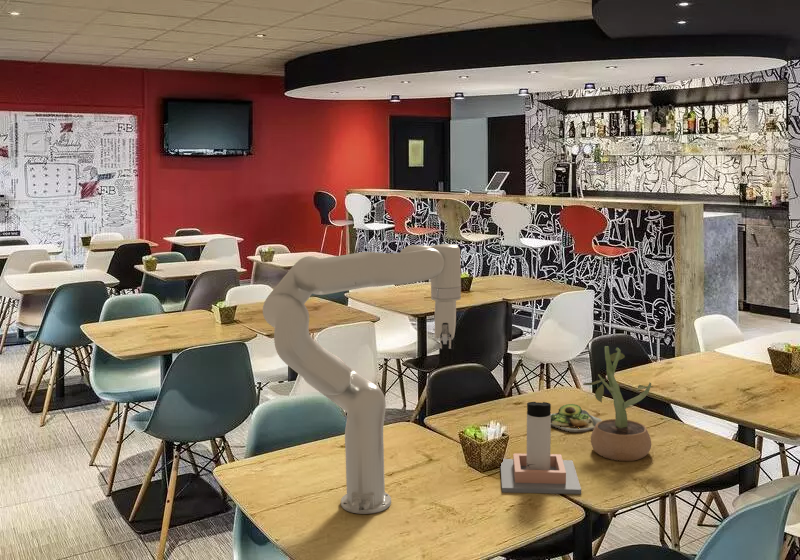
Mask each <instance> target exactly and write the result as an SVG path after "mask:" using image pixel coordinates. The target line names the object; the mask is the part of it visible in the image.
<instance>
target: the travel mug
mask: <svg viewBox="0 0 800 560" xmlns="http://www.w3.org/2000/svg"><path fill="white" fill-rule="evenodd" d="M551 406H552V404H551V403H549V402H545V401H542V402H538V401H537V402H536V401H530V402H529V401H528V402H527V403H526V410H527V411H526V454H527V469H526V470H550V454H551V445H552V444H551V435H552V434H551V432H552V430H551V429H552V426H551V414H552V412H551V411H552V409H551Z"/></svg>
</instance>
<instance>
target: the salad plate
mask: <svg viewBox="0 0 800 560" xmlns="http://www.w3.org/2000/svg"><path fill="white" fill-rule="evenodd" d="M600 421H603V420H602V419H601V418H598V417H597V416H596V417H595V416H593V415H591V414H590V413H589V412H588V411H587V410H583V409H582V407H581V406H580V405H578V404H575V403H568V404H565V405H562V406H560V407H559V409H558V412H555V413H551V428H554V427H555V429H557V428H558V430H560V429H561V430H562V431H564V430H565V432H568V431H569V432H568V433H584V432H588V431H593V430H594V428H595V425H596V424H597V423H598V422H600ZM560 426H561V427H560ZM572 426H575V427H579V428H580V429H578V428H575V427H574V428H572ZM570 427H571V428H570Z"/></svg>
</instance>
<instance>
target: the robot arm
mask: <svg viewBox="0 0 800 560" xmlns="http://www.w3.org/2000/svg"><path fill="white" fill-rule="evenodd" d="M461 266H462V265H461V249H460V247H459V246H458V245H457V244H452V243H451V244H450V243H449V244H448V243H441V244H435V245H419V244H411V245H407V246H405V247H404V248H402V249H401V250H400V252H397V253H394V252H393V253H389V252H388V253H386V252H384V253H383V252H375V251H363V252H361V251H360V252H355V253H349V254H344V255H337V256H328V257H323V258H322V257H321V258H319V257H316V256H304V257H302V258H300V259H299V260H297V262H296V263H294V265H292V267H290V269H289V270H288V271H287V273H286V274H285V275H284V276H283V277H282V279H280V281H279V282H278V283H277V284H276V286H275V287H274V288H273V290H272V291H271V292H270V293H269V294H268V296H267V297H266V298H265V301H264V303H263V306H262V315H263V318H264V320H265V322H266V323H267V324H268V325H270V326H271V327H272V328H274V331H273V334H274V335H273V341H274V342H273V343H274V347H275V350H276V353H277V355H278V357H279V358H280V360H281V361H282V362H283V363H284V364H286V365H287V366H288V367H289V368H291V369H292V370H293V371H294V372H295V373H297V374H298V375H299V376H300V377H301V378H303V380H304V381H305V382H306V383H307V384H308V385H309V386H311V387H312V388H314V390H316V391H318V392H319V393H320V394H322V395H323V396H324V397H326V399H329V401H331V402H332V403H334V404H336V405H337V406H338V407H340V408H341V409H342V410H343V411H345V412H346V423H345V428H344V445H345V446H344V447H345V449H344V450H345V453H344V454H345V478H346V479H345V481H346V485H345V486H346V493H345V494H344V495H343V496H342V497H341V499H340V507H341V508H342V509H344V511H346V512H349V513H353V514H357V515H358V514H359V515H367V514H368V515H369V514H377V513H380V512H383V511H385V510H387V509H388V508H389V507H390V506H391V505H392V497H391V496H390V495H389V493H387V492H385V491H386V490H385V452H384V451H385V450H384V449H385V447H384V445H385V444H384V422H385V415H386V409H387V408H386V407H387V405H386V404H387V402H386V397H385V394H384V393H383V390H382V389H381V388H380V387H379V386H378V385H377V384H376V383H374V382H372V381H370V380H369V379H368V378H366V377H364V376H362V375H361V374H360V373H358V372H356V370H354V369H352V368H351V367H350V366H349V365H347V364H346V362H344V361H343V360H342V358H340V357H339V356H337V355H336V354H334V353H333V352H331V351H329V350H327V349H326V348H325V347H324V346H322V345H321V344H320V343H319V342H317V341H316V340H315V339H314V338H313V337H312V336H311V334H310V328H309V327H310V312H309V310H308V308H307V306H306V303H307V301H308V300H309V299H310V297H311V296H312V295H317V296H319V295H320V296H321V295H322V296H323V295H330V294H336V293H340V292H342V293H343V292H347V291H352V290H353V291H354V290H358V289H364V288H365V289H366V288H372V287H373V288H374V287H375V288H376V287H385V286H393V285H394V286H396V285H405V284H412V283H417V282H418V283H419V282H424V281H429V280H430V297H431V298H430V300H431V301H435V302H434V339H435V340H438V339H439V348H438V353H439V354H438V357H439V362H438V363H439V365H452V364H453V355H455V354H454V352H455V351H454V344H455V343H454V342H455V341H454V338H455V333H456V326H457V325H456V323H457V301H459V300H461V299H462V295H461V293H462V290H461V289H462V283H461V282H462V278H461V277H462V276H461V275H462V273H461V272H462V271H461Z"/></svg>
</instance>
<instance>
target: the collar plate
mask: <svg viewBox="0 0 800 560" xmlns="http://www.w3.org/2000/svg"><path fill="white" fill-rule="evenodd" d="M512 456H513V457H512V458H502V459H503V462H502V463H501V466H500V480H501V481H500V483H501V493H513V494H514V493H519V494H521V493H522V494H523V493H524V494H555V495H556V494H561V495H565V494H566V495H582V487H581V484H580V481H579V477H578V474H577V471H576V467H575V464H574V461H573V459H570V460H567V459H563V457H562V454H558V453H557V454H556V453H550V470H526V469H527V453H513V455H512Z"/></svg>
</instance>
